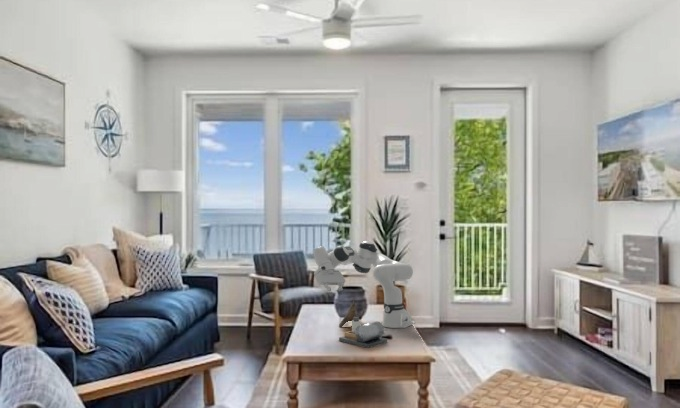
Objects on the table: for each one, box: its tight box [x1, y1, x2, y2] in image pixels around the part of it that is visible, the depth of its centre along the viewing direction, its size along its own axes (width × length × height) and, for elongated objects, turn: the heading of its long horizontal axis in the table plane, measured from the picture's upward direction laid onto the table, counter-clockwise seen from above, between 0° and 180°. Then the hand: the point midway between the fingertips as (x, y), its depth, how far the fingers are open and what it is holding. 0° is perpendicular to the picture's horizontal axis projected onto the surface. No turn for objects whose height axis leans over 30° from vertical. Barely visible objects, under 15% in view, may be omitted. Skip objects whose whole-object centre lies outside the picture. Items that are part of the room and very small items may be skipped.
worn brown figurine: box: [338, 299, 357, 328], centre depth 364 cm, size 12×6×18 cm, turn 100°
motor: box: [338, 321, 388, 349], centre depth 327 cm, size 18×22×11 cm
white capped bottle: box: [351, 316, 362, 334], centre depth 329 cm, size 5×5×11 cm
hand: (335, 290), depth 342 cm, fingers open, 8 cm apart
